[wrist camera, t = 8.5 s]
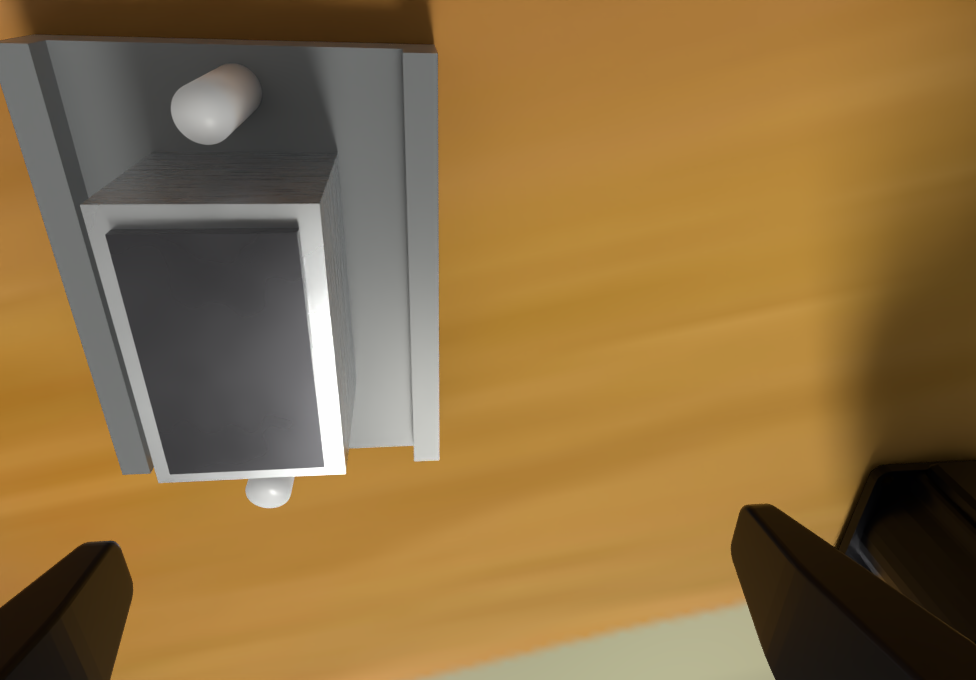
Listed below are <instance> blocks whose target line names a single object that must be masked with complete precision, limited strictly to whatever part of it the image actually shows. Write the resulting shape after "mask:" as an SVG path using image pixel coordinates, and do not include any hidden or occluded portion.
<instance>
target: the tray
mask: <svg viewBox="0 0 976 680" xmlns="http://www.w3.org/2000/svg"><path fill="white" fill-rule="evenodd" d="M0 84H1V87H2V90H3V93H4V97H5V100H6V103H7V106H8V109H9V113H10V116H11V119H12V122H13V125H14V129H15V132H16V135H17V138H18V141H19V144H20V148H21V151H22V154H23V157H24V160H25V164H26V167H27V170H28V173H29V176H30V180H31V183H32V186H33V189H34V192H35V196H36V199H37V202H38V205H39V208H40V212H41V215H42V218H43V221H44V224H45V228H46V231H47V234H48V237H49V240H50V244H51V247H52V250H53V253H54V256H55V260H56V263H57V266H58V269H59V272H60V276H61V279H62V282H63V285H64V288H65V292H66V295H67V298H68V301H69V304H70V307H71V311H72V314H73V317H74V320H75V323H76V327H77V330H78V333H79V336H80V339H81V343H82V346H83V349H84V352H85V355H86V359H87V362H88V365H89V368H90V371H91V375H92V378H93V381H94V384H95V387H96V391H97V394H98V397H99V400H100V403H101V407H102V410H103V413H104V416H105V419H106V423H107V426H108V429H109V432H110V435H111V439H112V442H113V445H114V448H115V451H116V455H117V458H118V461H119V464H120V467H121V471H122V474H123V475H127V474H149V473H151V471H152V469H153V467H154V465H153V462H152V458H151V454H150V451H149V447H148V444H147V440H146V437H145V433H144V430H143V426H142V423H141V419H140V416H139V412H138V409H137V405H136V402H135V398H134V394H133V391H132V387H131V384H130V380H129V377H128V373H127V370H126V366H125V363H124V359H123V356H122V352H121V349H120V345H119V342H118V338H117V334H116V331H115V327H114V324H113V320H112V317H111V313H110V310H109V306H108V303H107V299H106V296H105V292H104V289H103V285H102V282H101V278H100V274H99V271H98V267H97V264H96V260H95V257H94V253H93V250H92V246H91V243H90V239H89V236H88V232H87V229H86V225H85V222H84V218H83V214H82V211H81V207H80V204H81V203H83V202H84V201H85V200H87V199H88V198H90V197H91V196H92V195H94V194H95V193H96V192H98V191H99V190H101V189H102V188H103V187H105V186H106V185H107V184H109V183H110V182H111V181H113V180H114V179H116V178H117V177H118V176H120V175H121V174H122V173H124V172H125V171H127V170H128V169H129V168H131V167H132V166H133V165H135V164H136V163H137V162H139V161H140V160H142V159H143V158H144V157H146V156H147V155H148V154H150V153H151V152H153V151H156V152H338V158H339V171H340V183H341V196H342V208H343V220H344V233H345V245H346V258H347V270H348V283H349V295H350V307H351V320H352V332H353V345H354V357H355V369H356V382H357V383H356V392H355V400H354V409H353V418H352V426H351V435H350V443H349V448H369V447H392V446H414V461H434V460H439V249H438V53H437V50H436V48H435V45H430V44H390V43H351V42H311V41H272V40H232V39H193V38H153V37H113V36H74V35H34V34H33V35H28V36H22V37H17V38H11V39H6V40H0ZM294 477H295V476H293V477H272V478H252V479H248V482H247V486H246V495H247V497H248V499H249V500H250V501H251V502H252V503H254V504H255V505H257V506H260V507H264V508H275V507H279V506H281V505H283V504H285V503H286V502H287V501H288V500H289V498H290V495H291V491H292V486H293V482H294Z"/></svg>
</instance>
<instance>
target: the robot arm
mask: <svg viewBox="0 0 976 680" xmlns="http://www.w3.org/2000/svg"><path fill="white" fill-rule="evenodd" d="M731 555H732V560H733V563H734V566H735V569H736V572H737V575H738V578H739V581H740V584H741V587H742V590H743V593H744V596H745V599H746V602H747V605H748V608H749V611H750V614H751V617H752V620H753V622H754V626H755V629H756V631H757V635H758V638H759V640H760V643H761V646H762V649H763V651H764V654H765V657H766V659H767V661H768V664H769V666H770V669H771V671H772V673H773V675H774V677H775V679H776V680H976V460H966V461H946V462H926V463H906V464H886V465H881V466H879V467H877V468H875V469H874V470H873V471H872V472H871V474H870V475H869V478H868V480H867V482H866V485H865V487H864V490H863V492H862V494H861V497H860V499H859V502H858V504H857V506H856V509H855V511H854V514H853V516H852V518H851V521H850V523H849V526H848V528H847V530H846V533H845V535H844V538H843V540H842V543H841V545H840V547H839V550H838V549H836V548H835V547H833V546H832V545H830V544H829V543H828V542H826V541H825V540H823V539H822V538H820V537H819V536H817V535H816V534H814V533H813V532H811V531H810V530H809V529H807V528H806V527H804V526H803V525H801V524H800V523H798V522H797V521H795V520H794V519H793V518H791V517H790V516H788V515H787V514H785V513H784V512H782V511H781V510H779V509H778V508H776V507H775V506H773V505H771V504H751V505H745V506H743V507H742V509H741V510H740V513H739V516H738V520H737V524H736V527H735V531H734V535H733V539H732V542H731ZM132 596H133V582H132V578H131V576H130V573H129V570H128V567H127V564H126V561H125V559H124V556H123V553H122V550H121V548H120V546H119V544H117V543H116V542H114V541H98V542H87V543H84V544H82V545H80V546H78V547H77V548H76V549H74V550H73V551H72V552H71V553H69V554H68V555H67V556H66V557H64V558H63V559H62V560H60V561H59V562H58V563H57V564H55V565H54V566H53V567H52V568H50V569H49V570H48V571H46V572H45V573H44V574H43V575H41V576H40V577H39V578H38V579H36V580H35V581H34V582H32V583H31V584H30V585H29V586H27V587H26V588H25V589H24V590H22V591H21V592H20V593H18V594H17V595H16V596H15V597H13V598H12V599H11V600H10V601H8V602H7V603H6V604H4V605H3V606H2V607H1V608H0V680H110V678H111V675H112V671H113V667H114V664H115V660H116V656H117V653H118V649H119V645H120V641H121V638H122V634H123V630H124V627H125V623H126V619H127V615H128V612H129V608H130V604H131V601H132Z"/></svg>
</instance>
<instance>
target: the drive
mask: <svg viewBox="0 0 976 680" xmlns="http://www.w3.org/2000/svg"><path fill="white" fill-rule="evenodd" d="M80 207H81V211H82V214H83V218H84V222H85V225H86V229H87V232H88V236H89V239H90V243H91V246H92V250H93V253H94V257H95V260H96V264H97V267H98V271H99V274H100V278H101V282H102V285H103V289H104V292H105V296H106V299H107V303H108V306H109V310H110V313H111V317H112V320H113V324H114V327H115V331H116V334H117V338H118V342H119V345H120V349H121V352H122V356H123V359H124V363H125V366H126V370H127V373H128V377H129V380H130V384H131V387H132V391H133V394H134V398H135V402H136V405H137V409H138V412H139V416H140V419H141V423H142V426H143V430H144V433H145V437H146V440H147V444H148V447H149V451H150V454H151V458H152V462H153V465H154V469H155V472H156V476H157V479H158V483H170V482H190V481H211V480H231V479H252V478H272V477H293V476H313V475H334V474H346V469H347V461H348V452H349V443H350V435H351V426H352V418H353V409H354V400H355V392H356V383H357V382H356V369H355V357H354V345H353V332H352V320H351V307H350V295H349V283H348V270H347V258H346V245H345V233H344V220H343V208H342V196H341V183H340V171H339V158H338V152H156V151H153V152H151V153H150V154H148V155H147V156H146V157H144V158H143V159H142V160H140V161H139V162H137V163H136V164H135V165H133V166H132V167H131V168H129V169H128V170H127V171H125V172H124V173H122V174H121V175H120V176H118V177H117V178H116V179H114V180H113V181H111V182H110V183H109V184H107V185H106V186H105V187H103V188H102V189H101V190H99V191H98V192H96V193H95V194H94V195H92V196H91V197H90V198H88V199H87V200H85V201H84V202H83V203H81V204H80Z"/></svg>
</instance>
